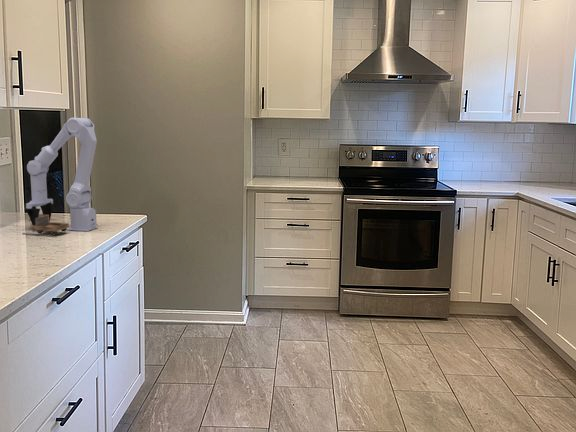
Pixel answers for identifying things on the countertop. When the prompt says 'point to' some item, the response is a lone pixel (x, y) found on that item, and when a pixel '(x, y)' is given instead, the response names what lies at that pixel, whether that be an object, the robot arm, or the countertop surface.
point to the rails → (40, 234)
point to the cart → (49, 225)
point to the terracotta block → (41, 216)
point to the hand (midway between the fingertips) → (41, 223)
